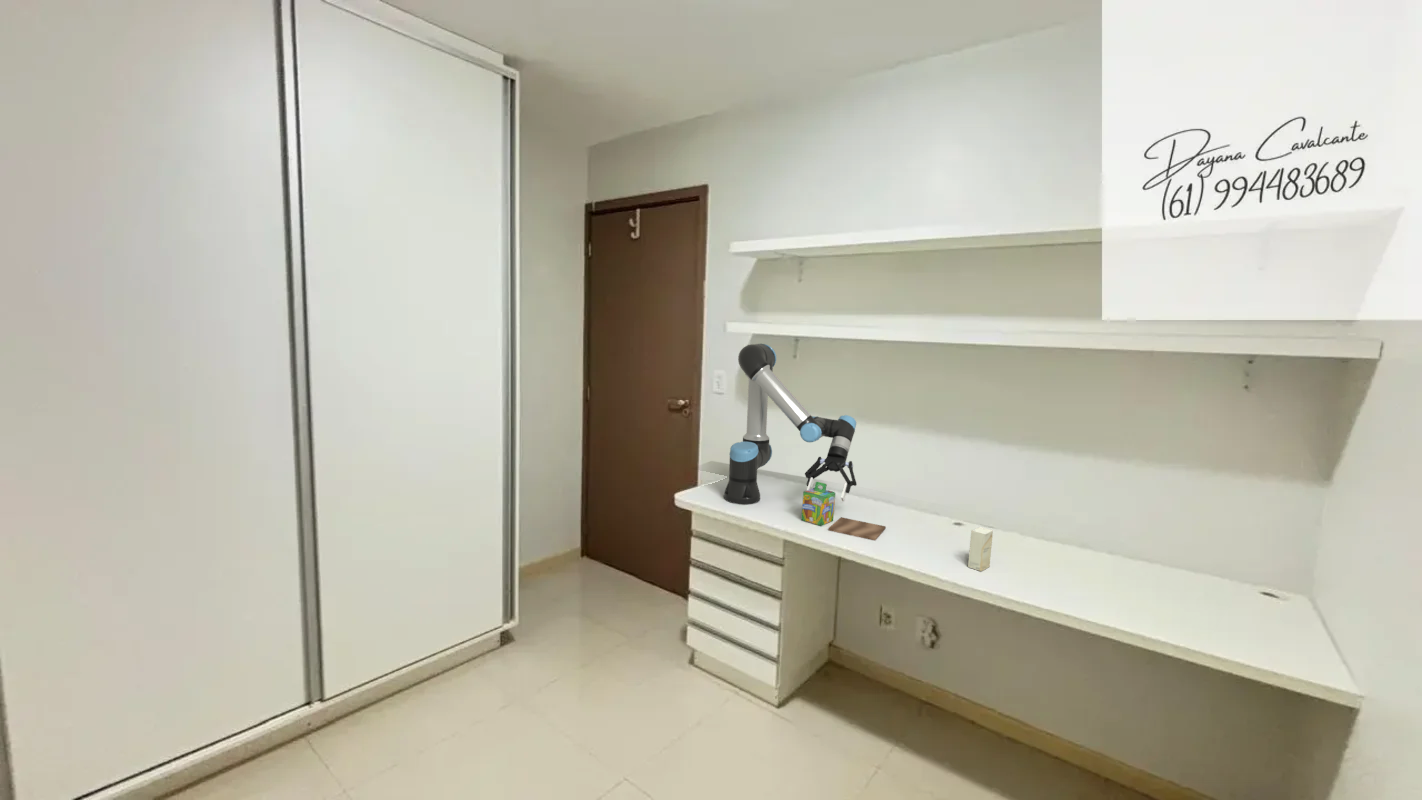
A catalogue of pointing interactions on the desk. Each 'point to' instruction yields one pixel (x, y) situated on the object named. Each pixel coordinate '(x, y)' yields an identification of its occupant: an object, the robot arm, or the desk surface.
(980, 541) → the skincare box
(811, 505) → the chalk box
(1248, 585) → the desk surface
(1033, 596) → the desk surface
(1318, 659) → the desk surface
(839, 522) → the walnut board
